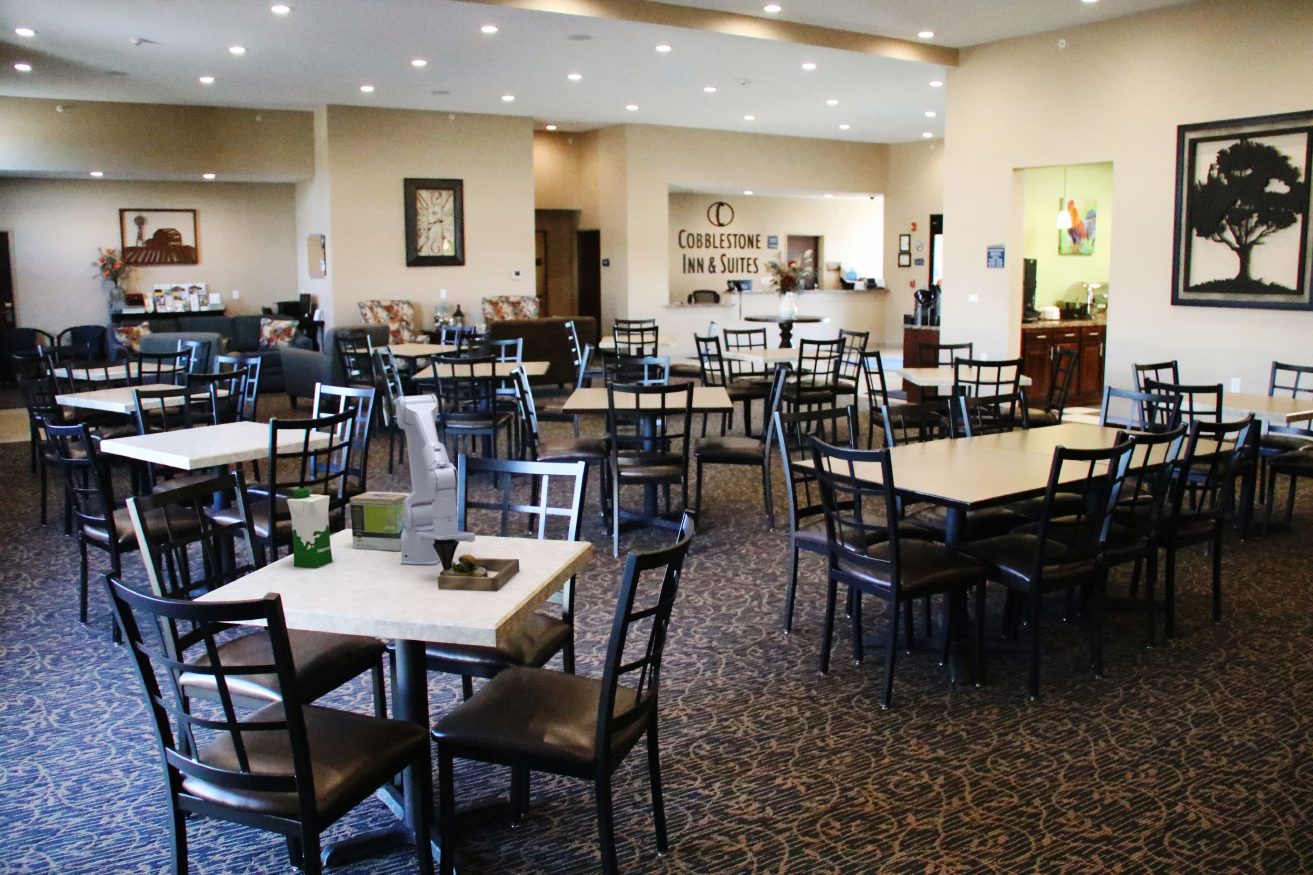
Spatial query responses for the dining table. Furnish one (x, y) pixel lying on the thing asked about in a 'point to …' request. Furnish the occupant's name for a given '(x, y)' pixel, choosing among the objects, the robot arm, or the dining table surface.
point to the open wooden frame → (504, 567)
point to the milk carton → (310, 528)
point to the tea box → (377, 520)
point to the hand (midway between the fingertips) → (447, 569)
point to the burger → (465, 568)
